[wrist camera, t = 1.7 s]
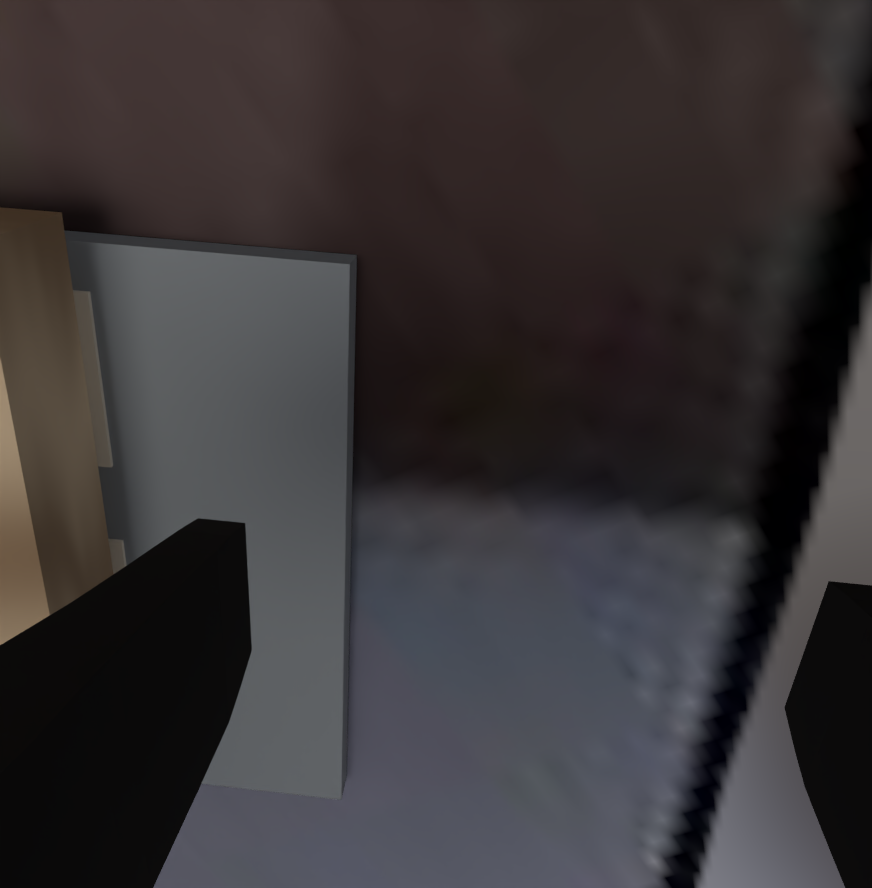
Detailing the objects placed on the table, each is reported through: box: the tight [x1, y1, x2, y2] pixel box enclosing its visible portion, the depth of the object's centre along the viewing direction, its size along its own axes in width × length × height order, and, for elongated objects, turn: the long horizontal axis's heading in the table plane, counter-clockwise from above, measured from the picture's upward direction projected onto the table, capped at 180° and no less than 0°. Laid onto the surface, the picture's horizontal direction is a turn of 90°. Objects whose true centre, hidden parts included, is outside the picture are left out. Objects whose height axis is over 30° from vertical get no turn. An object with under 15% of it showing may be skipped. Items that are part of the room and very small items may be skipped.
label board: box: [64, 230, 357, 800], centre depth 19 cm, size 15×13×1 cm
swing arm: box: [0, 207, 113, 645], centre depth 17 cm, size 16×3×3 cm, turn 176°
